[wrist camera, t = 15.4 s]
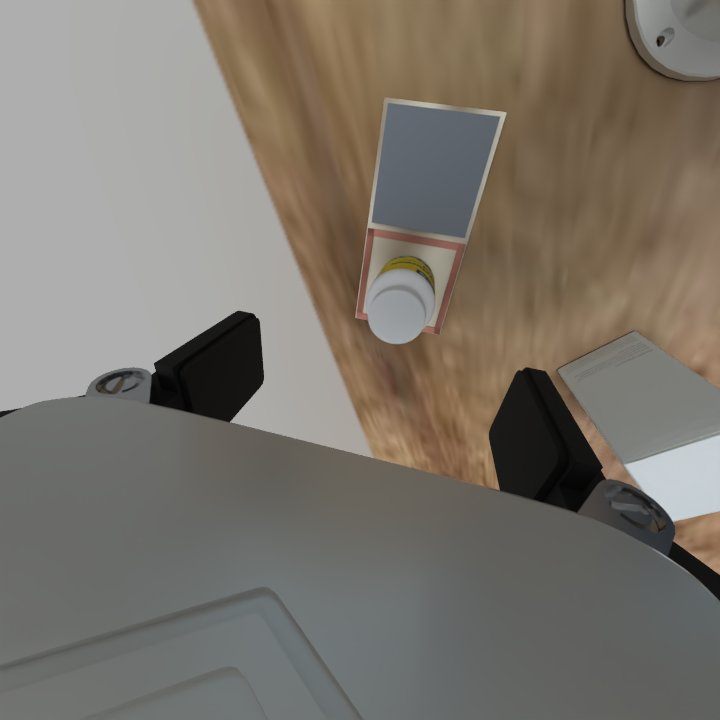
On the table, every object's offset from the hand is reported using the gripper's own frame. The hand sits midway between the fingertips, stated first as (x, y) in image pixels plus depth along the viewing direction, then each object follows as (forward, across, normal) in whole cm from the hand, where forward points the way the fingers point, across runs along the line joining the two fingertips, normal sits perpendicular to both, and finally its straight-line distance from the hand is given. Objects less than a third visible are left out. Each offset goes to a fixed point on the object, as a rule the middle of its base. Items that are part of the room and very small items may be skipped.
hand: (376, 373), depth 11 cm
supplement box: (+21, -22, +8) cm, 31 cm away
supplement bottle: (+20, 0, +2) cm, 20 cm away
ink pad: (+20, 0, -7) cm, 21 cm away
